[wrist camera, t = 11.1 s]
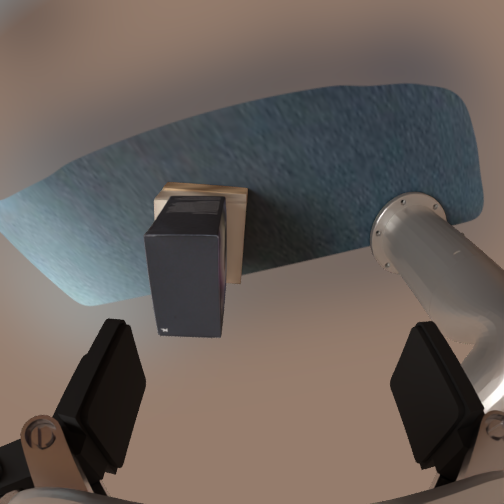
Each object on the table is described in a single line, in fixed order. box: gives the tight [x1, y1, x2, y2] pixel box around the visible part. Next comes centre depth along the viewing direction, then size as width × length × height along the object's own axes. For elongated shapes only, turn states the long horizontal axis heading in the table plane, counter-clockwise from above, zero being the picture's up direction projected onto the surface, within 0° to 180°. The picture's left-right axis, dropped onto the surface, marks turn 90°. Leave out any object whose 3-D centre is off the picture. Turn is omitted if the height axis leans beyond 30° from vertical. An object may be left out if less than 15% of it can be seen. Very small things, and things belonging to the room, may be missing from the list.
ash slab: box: [154, 190, 246, 284], centre depth 37 cm, size 10×10×4 cm
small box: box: [144, 196, 227, 338], centre depth 31 cm, size 11×6×10 cm, turn 178°
